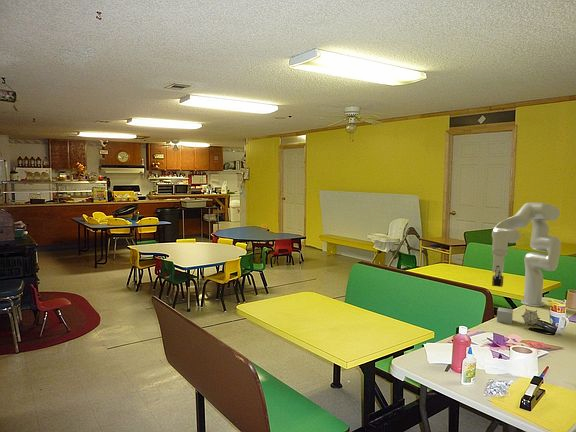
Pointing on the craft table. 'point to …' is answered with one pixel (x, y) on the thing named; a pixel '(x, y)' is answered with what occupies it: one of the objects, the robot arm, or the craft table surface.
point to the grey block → (504, 315)
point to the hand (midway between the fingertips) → (497, 284)
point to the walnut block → (501, 281)
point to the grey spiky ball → (530, 317)
